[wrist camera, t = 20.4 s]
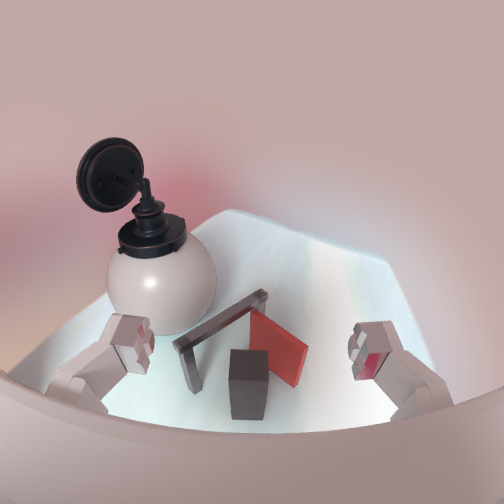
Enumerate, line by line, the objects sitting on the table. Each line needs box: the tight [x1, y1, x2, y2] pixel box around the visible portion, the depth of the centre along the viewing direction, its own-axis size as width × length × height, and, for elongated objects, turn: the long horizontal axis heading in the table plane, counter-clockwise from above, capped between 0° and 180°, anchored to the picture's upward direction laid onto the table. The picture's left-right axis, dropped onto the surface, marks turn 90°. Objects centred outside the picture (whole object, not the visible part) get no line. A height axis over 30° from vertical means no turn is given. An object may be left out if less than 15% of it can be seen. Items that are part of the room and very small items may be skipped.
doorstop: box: [228, 349, 269, 420], centre depth 35 cm, size 4×4×12 cm
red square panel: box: [249, 309, 309, 388], centre depth 41 cm, size 10×1×10 cm, turn 44°
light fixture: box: [76, 137, 216, 336], centre depth 45 cm, size 20×23×33 cm
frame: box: [172, 289, 268, 395], centre depth 41 cm, size 16×2×12 cm, turn 134°
